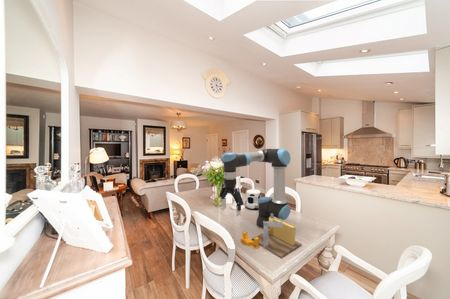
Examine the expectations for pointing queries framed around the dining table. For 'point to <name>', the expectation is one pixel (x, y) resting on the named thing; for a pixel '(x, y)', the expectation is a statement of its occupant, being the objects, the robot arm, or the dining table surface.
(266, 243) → the hook
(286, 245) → the board
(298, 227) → the dining table surface
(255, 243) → the pipe clamp
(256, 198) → the white rounded appliance
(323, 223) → the dining table surface
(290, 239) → the hinged door
